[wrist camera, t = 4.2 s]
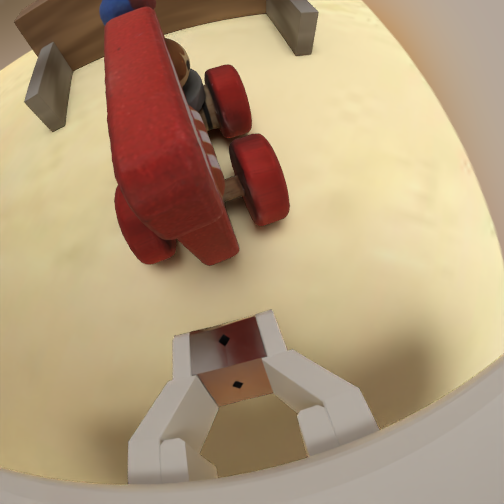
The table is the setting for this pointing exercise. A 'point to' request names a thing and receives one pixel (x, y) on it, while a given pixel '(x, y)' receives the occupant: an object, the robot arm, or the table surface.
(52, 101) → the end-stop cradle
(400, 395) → the table surface
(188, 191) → the toy fire truck
